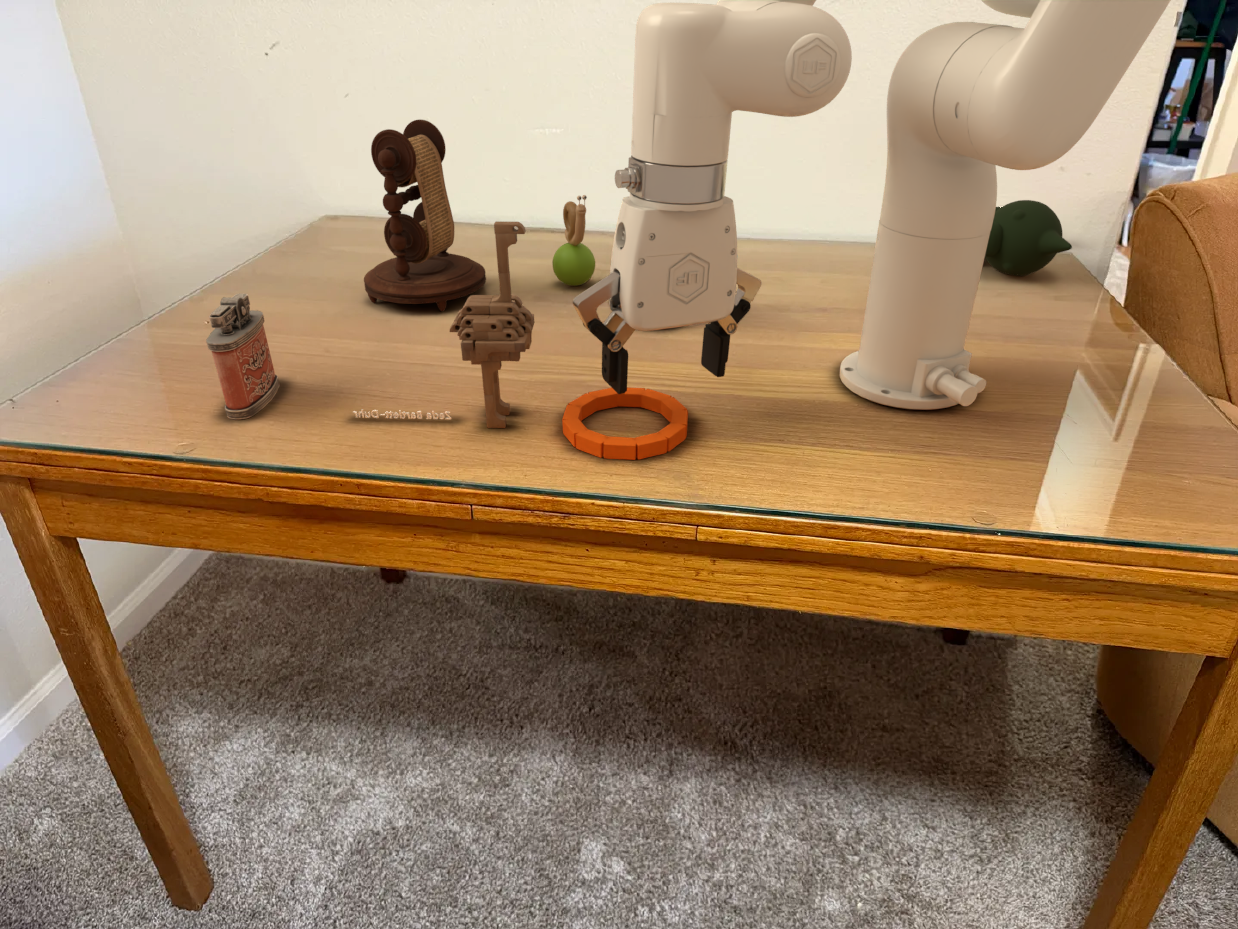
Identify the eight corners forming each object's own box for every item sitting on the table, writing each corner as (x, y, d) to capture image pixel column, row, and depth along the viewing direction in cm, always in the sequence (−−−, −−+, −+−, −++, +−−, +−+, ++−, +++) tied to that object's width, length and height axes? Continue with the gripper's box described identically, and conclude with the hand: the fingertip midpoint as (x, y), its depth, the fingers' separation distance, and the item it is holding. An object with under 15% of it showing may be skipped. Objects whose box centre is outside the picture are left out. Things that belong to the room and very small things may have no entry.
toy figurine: (918, 188, 122) (1014, 207, 100) (1040, 187, 125) (1161, 206, 102) (909, 254, 126) (999, 287, 103) (1028, 252, 128) (1142, 284, 106)
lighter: (253, 381, 85) (229, 284, 79) (287, 381, 84) (264, 284, 79) (218, 419, 78) (189, 316, 72) (254, 419, 78) (228, 316, 72)
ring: (709, 443, 74) (710, 428, 73) (592, 470, 70) (592, 456, 69) (653, 391, 82) (653, 378, 81) (546, 413, 78) (546, 400, 78)
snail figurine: (564, 296, 105) (561, 198, 99) (547, 281, 110) (542, 186, 104) (605, 290, 107) (603, 193, 100) (586, 275, 112) (584, 182, 106)
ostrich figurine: (542, 403, 80) (531, 211, 71) (534, 438, 74) (521, 234, 65) (365, 401, 81) (332, 210, 71) (344, 435, 75) (304, 233, 66)
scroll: (451, 321, 98) (431, 139, 87) (342, 307, 102) (310, 131, 92) (506, 281, 110) (494, 116, 99) (406, 269, 114) (384, 110, 103)
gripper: (595, 200, 60) (591, 413, 69) (796, 184, 67) (770, 381, 76) (557, 178, 66) (559, 377, 75) (746, 165, 73) (727, 350, 81)
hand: (665, 379), depth 75 cm, fingers open, 9 cm apart
